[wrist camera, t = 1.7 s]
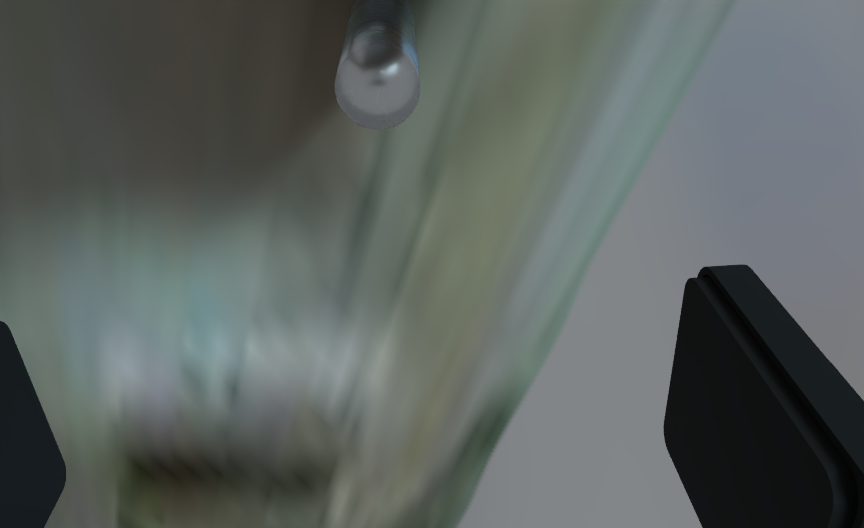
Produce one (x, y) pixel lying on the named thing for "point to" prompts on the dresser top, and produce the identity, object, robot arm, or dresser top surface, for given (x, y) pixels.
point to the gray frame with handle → (378, 64)
